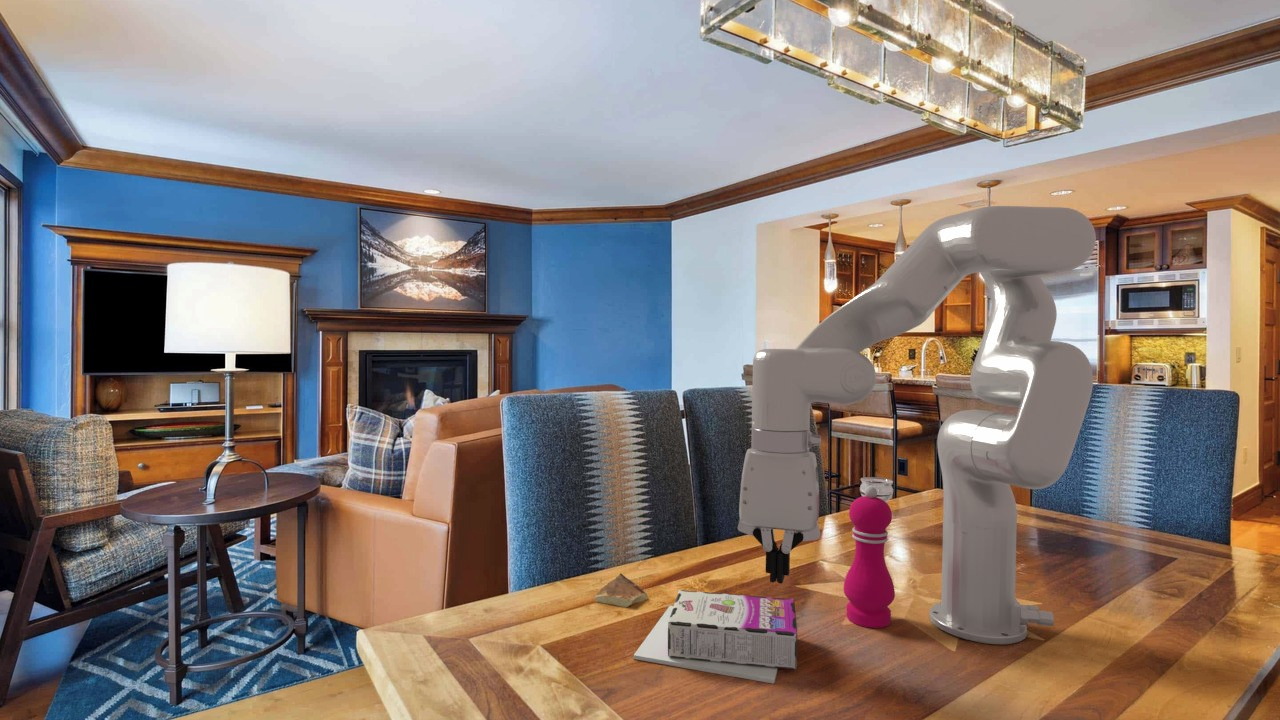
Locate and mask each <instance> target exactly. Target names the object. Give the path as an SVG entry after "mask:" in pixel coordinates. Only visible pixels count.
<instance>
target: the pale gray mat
mask: <svg viewBox="0 0 1280 720" xmlns="http://www.w3.org/2000/svg"><path fill="white" fill-rule="evenodd" d="M673 607H674V605H669V606H668V607H667V609H666V610H665V611H664V613H663V614H662V616H661V617H660V618H659V619H658V621H657V622H656V624H655V625H654V627H653V628H652V629H651V631H650V632H649V633H648V635H647V636H646V638H645V639H644V640H643V641H642V643H641V645H640V646H639V647H638V649H637V650H636V651H635V652H634V654H633V660H638V661H643V662H649V663H654V664H660V665H665V666H671V667H677V668H682V669H683V668H684V669H687V670H688V669H689V670H693V671H695V670H696V671H700V672H706V673H710V674H716V675H717V674H718V675H723V676H728V677H733V678H735V677H736V678H738V679H739V678H740V679H746V680H752V681H757V682H763V683H768V684H769V683H770V684H775V682H776V678H777V674H778V669H779V668H777V667H767V666H758V665H749V664H737V663H729V662H717V661H707V660H696V659H687V658H677V657H668V621H669V618H670V615H671V612H672V610H673Z"/></svg>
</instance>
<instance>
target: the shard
mask: <svg viewBox="0 0 1280 720" xmlns="http://www.w3.org/2000/svg"><path fill="white" fill-rule="evenodd" d="M647 599H648V594H647V593H646V592H645V591H644V590H643V589H642V588H640V587H639V585H637V584H636V583H635V582H633V581H632V580H630V579H629V578H627V577H626V576H625V574H622V573H619V575H617V576H616V577H615V578H614V579H613V580H611V581H609V582H608V583H607V584H605V585H604V586H603V587H602V588H601V589H600V590H598V591H597V593H596V594H595V596H594V601H595V603H600V604H606V603H607V605H614V606H619V607H623V608H628V607H629V606H630V605H633V604H637V603H639V602H643V601H647Z"/></svg>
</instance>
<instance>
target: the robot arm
mask: <svg viewBox="0 0 1280 720" xmlns="http://www.w3.org/2000/svg"><path fill="white" fill-rule="evenodd" d="M1096 236H1097V235H1096V231H1095V227H1094V226H1093V224H1092V221H1091V220H1090V219H1089V218H1088V216H1086V215H1085V214H1083V213H1082V212H1080V211H1079V210H1076V209H1073V208H1069V207H1064V206H1063V207H1059V206H1058V207H1057V206H1018V205H991V206H983V207H979V208H974V209H972V210H968V211H964V212H960V213H957V214H952V215H949V216H945V217H943V218H940V219H937V220H935V221H934V222H933V223H931V224H929V225H928V226H927V227H926V228H924V230H923V231H922V232H921V233H920V234H919V235H918V236H917V237H916V238H915V239H914V240H913V242H911V244H910V245H908V247H907V248H906V249H905V250H904V251H903V252H902V253H901V255H899V256H898V257H897V259H896V260H894V262H893V263H892V264H891V265H890V267H888V268H887V269H886V271H885V272H884V273H883V274H882V275H880V277H879V278H878V279H877V280H875V282H874V283H872V284H871V285H870V286H869V287H867V288H866V289H864V290H863V291H861V292H859V293H858V294H857V295H856V296H854V297H853V298H851V299H850V300H849V301H848V302H846V303H845V304H843V305H842V306H841V307H839V308H837V309H836V310H835V311H834V312H832V313H831V314H829V315H828V316H826V317H825V318H824V319H823V320H822V321H820V322H819V323H818V324H817V326H815V328H813V329H812V330H811V331H810V332H809V334H807V336H806V337H805V338H804V339H803V340H802V341H801V342H800V343H799V344H798V345H797V347H795V348H763V349H760V350H758V351H756V353H755V354H754V356H753V360H752V361H753V362H752V387H751V388H752V391H751V392H752V402H751V439H750V440H751V442H750V443H751V445H750V446H751V448H748V449H747V450H746V452H745V457H744V460H743V465H742V466H743V467H742V473H741V480H740V481H741V482H740V490H739V491H740V493H739V494H740V495H739V508H738V509H739V510H738V511H739V512H738V514H739V515H738V517H739V520H738V525H737V530H738V532H740V533H744V534H746V535H748V536H752V537H754V538H755V540H757V542H758V543H759V544H760V545H761V546H762V548H763V550H764V551H765V574H769V582H770V583H775V582H777V583H778V584H784V579H785V576H787V577H788V576H789V575H790V566H791V565H790V564H791V563H790V562H791V561H790V560H791V551H792V550H793V549H794V548H796V547H797V546H798V545H799V544H801V543H803V542H811V541H818V540H819V539H820V538H821V530H820V526H819V522H818V521H819V517H820V485H819V469H818V462H817V458H816V453H815V452H812V451H810V449H812V447H815V446H816V447H818V446H820V447H821V445H822V443H821V442H822V436H821V435H816V434H813V432H811V426H810V425H811V423H810V421H811V414H810V413H811V404H812V403H822V404H823V403H824V404H830V405H838V406H849V405H850V406H851V405H855V404H857V403H859V402H863V400H865V399H866V398H867V397H868V396H870V394H871V393H872V392H873V390H874V388H875V385H876V382H877V373H876V369H875V367H874V364H873V363H872V361H871V360H870V359H869V358H868V357H867V356H866V355H865V354H863V353H862V352H863V351H865V350H866V349H868V348H869V347H871V346H873V345H875V344H877V343H879V342H882V341H885V340H888V339H890V338H893V337H896V336H899V335H902V334H905V333H907V332H909V331H911V330H913V329H915V328H917V327H919V326H921V325H922V324H923V323H924V322H926V321H927V320H928V319H929V317H930V316H931V315H932V314H933V313H934V312H935V310H937V308H938V307H939V306H940V305H941V303H943V302H944V301H945V299H946V298H947V297H949V295H950V293H952V292H953V290H954V289H955V288H956V287H957V286H958V285H959V284H960V283H961V281H963V280H964V279H965V278H966V277H967V276H969V275H971V274H978V273H980V276H981V277H982V279H983V280H984V282H985V284H986V286H987V289H988V291H989V295H990V300H991V301H990V303H991V305H990V306H991V308H990V315H989V318H988V321H987V324H986V327H985V330H984V333H983V334H982V339H981V341H980V344H979V347H978V351H977V353H976V356H975V359H974V362H973V364H972V368H971V371H970V379H969V381H970V382H969V383H970V388H971V390H972V393H974V395H975V396H976V397H977V398H979V399H980V400H982V401H984V402H986V403H988V404H989V403H990V404H992V405H993V404H994V405H996V406H997V405H998V406H1002V407H1003V406H1004V407H1011V408H1018V410H1017V413H1016V414H1013V413H1012V414H1011V413H1006V412H999V411H993V410H992V411H991V410H984V409H983V410H982V409H967V410H961V411H957V412H955V413H953V414H951V415H950V416H948V417H947V418H946V419H945V420H944V421H943V423H942V424H941V426H940V428H939V430H938V434H937V442H936V446H937V455H938V460H939V465H940V471H941V476H942V477H941V478H942V488H943V489H942V490H943V506H942V507H943V511H942V515H943V516H942V518H943V519H942V555H941V557H942V559H941V560H942V561H941V563H942V564H941V598H940V599H941V602H938V603H935V604H934V605H932V606H931V607H930V608H929V620H930V621H931V623H933V624H934V625H935V626H936V627H937V628H938V629H940V630H941V631H944V632H946V633H947V634H950V635H952V636H955V637H957V638H961V639H964V640H966V641H967V640H968V641H971V642H975V643H981V644H991V645H1010V644H1016V643H1019V642H1022V641H1023V640H1025V639H1026V637H1027V633H1028V631H1027V629H1028V627H1027V625H1029V623H1030V624H1037V625H1040V626H1046V627H1047V626H1048V627H1054V623H1055V619H1054V618H1055V617H1054V613H1053V611H1048V610H1047V611H1046V610H1039V606H1038V605H1030V604H1022V603H1021V602H1019V601H1018V600H1017V598H1016V569H1017V567H1016V563H1017V526H1018V525H1017V524H1018V510H1017V503H1016V499H1015V495H1014V493H1013V490H1012V488H1011V487H1012V486H1014V487H1019V488H1022V489H1029V490H1042V489H1046V488H1049V487H1050V486H1053V485H1054V484H1055V483H1057V482H1058V481H1059V479H1060V478H1062V476H1063V474H1064V473H1065V471H1066V470H1067V467H1068V465H1069V463H1070V460H1071V457H1072V454H1073V452H1074V449H1075V446H1076V443H1077V440H1078V436H1079V434H1080V430H1081V427H1082V426H1083V422H1084V419H1085V416H1086V413H1087V411H1088V408H1089V403H1090V400H1091V396H1092V393H1093V388H1094V376H1093V369H1092V368H1093V367H1092V365H1091V362H1090V360H1089V358H1088V357H1087V355H1086V354H1085V353H1084V352H1083V351H1082V350H1081V349H1080V348H1079V347H1077V346H1075V345H1074V344H1071V343H1068V342H1063V341H1055V340H1052V337H1053V333H1054V330H1055V327H1056V323H1057V314H1058V313H1057V306H1056V303H1055V300H1054V297H1053V296H1052V294H1051V292H1050V290H1049V289H1048V287H1047V286H1046V283H1045V282H1044V281H1043V279H1042V277H1041V275H1048V274H1057V273H1064V272H1069V271H1073V270H1076V269H1077V268H1079V267H1081V266H1082V265H1084V263H1086V262H1087V261H1088V260H1089V259H1090V257H1091V256H1092V254H1093V252H1094V250H1095V247H1096V241H1097V237H1096ZM774 530H781V531H784V532H783V538H782V542H781V544H780V546H779V547H778V545H777V542H776V540H775V533H774ZM1020 603H1021V604H1020Z"/></svg>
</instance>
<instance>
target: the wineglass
mask: <svg viewBox="0 0 1280 720" xmlns="http://www.w3.org/2000/svg"><path fill="white" fill-rule="evenodd" d="M859 480H860V481H861V483H860V485H859V486H860V487H859V493H860V495H861V497H863V496H866V495H865V492H864V491H865V489H866V488H867V487H869V486H872V487H874V488H875V489H876V490H877V495H876V497H877V498H880V499H882V500H884V501H885V502H886V503H888V502H889V500H890V499H892V497H893V494H894V489H893V486H892V484H893V483H894V481H893V480H891V479H889V478H884V477H875V476H871V477H861V478H860V479H859Z"/></svg>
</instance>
